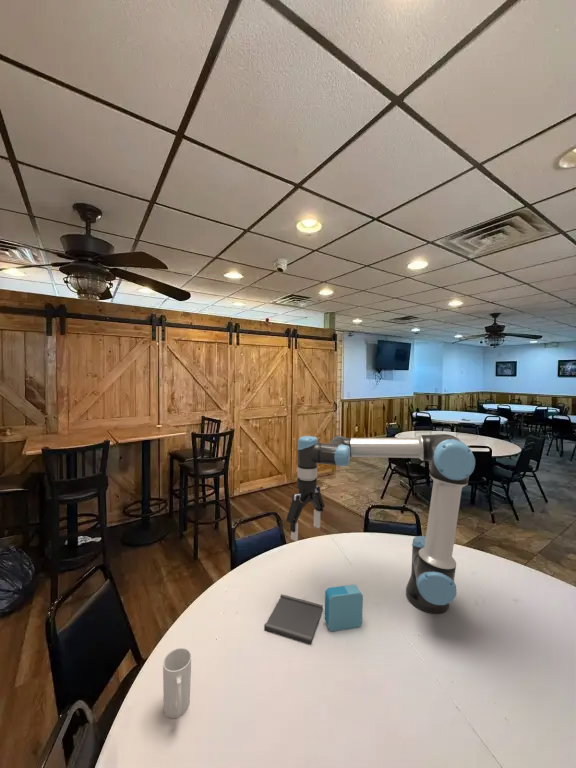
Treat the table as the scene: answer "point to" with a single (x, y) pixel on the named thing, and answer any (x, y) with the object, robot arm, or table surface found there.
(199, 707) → the table surface
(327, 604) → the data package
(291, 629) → the dark gray square slab
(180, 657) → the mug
